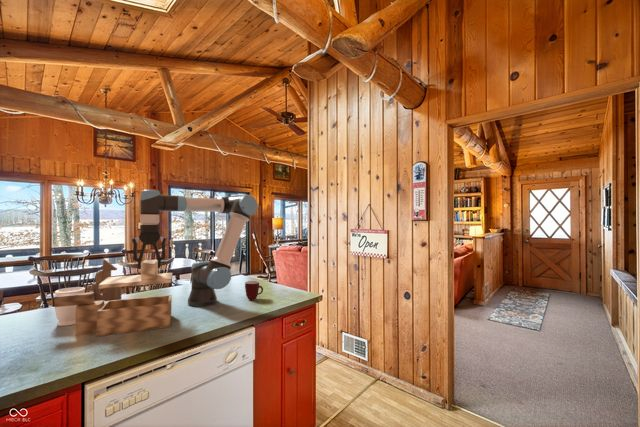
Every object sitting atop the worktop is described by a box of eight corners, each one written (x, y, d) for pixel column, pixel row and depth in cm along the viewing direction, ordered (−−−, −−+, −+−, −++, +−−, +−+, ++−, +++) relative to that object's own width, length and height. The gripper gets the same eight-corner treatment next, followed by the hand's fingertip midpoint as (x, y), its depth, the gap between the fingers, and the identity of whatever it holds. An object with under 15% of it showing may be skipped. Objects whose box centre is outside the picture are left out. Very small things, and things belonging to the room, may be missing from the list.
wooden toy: (84, 311, 148) (85, 261, 148) (86, 307, 153) (87, 259, 154) (120, 306, 156) (121, 259, 156) (121, 303, 161) (122, 258, 162)
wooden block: (94, 301, 125) (94, 291, 125) (91, 303, 121) (91, 294, 121) (58, 304, 119) (58, 294, 120) (54, 307, 116) (54, 297, 116)
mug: (259, 296, 178) (259, 279, 178) (265, 299, 172) (265, 282, 172) (242, 298, 172) (243, 281, 172) (247, 302, 166) (248, 284, 166)
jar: (48, 325, 128) (49, 290, 128) (75, 317, 138) (75, 285, 138) (63, 328, 124) (64, 293, 125) (90, 320, 134) (90, 287, 134)
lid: (172, 275, 143) (172, 258, 143) (171, 282, 128) (171, 263, 128) (108, 280, 132) (108, 261, 132) (98, 288, 117) (98, 267, 117)
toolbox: (171, 315, 142) (171, 291, 142) (169, 326, 128) (170, 300, 128) (84, 325, 128) (84, 299, 128) (71, 339, 113) (71, 310, 113)
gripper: (172, 223, 139) (172, 272, 139) (127, 224, 131) (127, 275, 131) (171, 224, 132) (171, 275, 132) (124, 224, 124) (124, 279, 124)
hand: (149, 275), depth 132 cm, fingers closed on lid, 5 cm apart
